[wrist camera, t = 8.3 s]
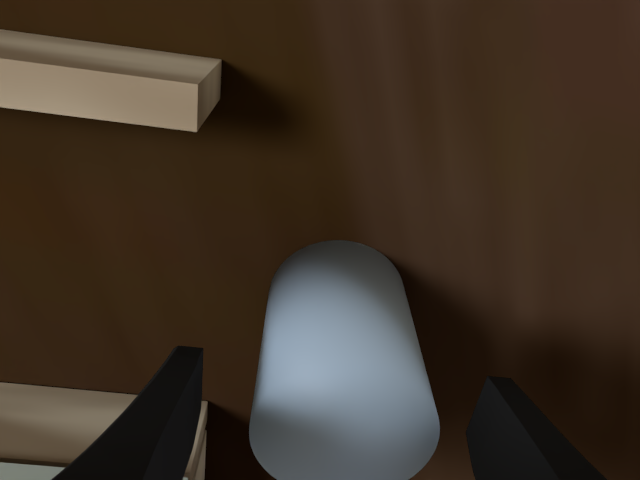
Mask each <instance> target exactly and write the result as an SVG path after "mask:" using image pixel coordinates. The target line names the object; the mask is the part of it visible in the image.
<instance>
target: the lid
mask: <svg viewBox="0 0 640 480" xmlns="http://www.w3.org/2000/svg"><path fill="white" fill-rule="evenodd" d="M63 469H64V467H52V466H40V465H27V464H15V463H3V462H0V480H51V479H52V478H54V477H55V476H56V475H57V474H58V473H60V472H61V471H62V470H63ZM183 480H188V478H186V477H183Z"/></svg>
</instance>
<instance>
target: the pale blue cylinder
mask: <svg viewBox="0 0 640 480" xmlns="http://www.w3.org/2000/svg"><path fill="white" fill-rule="evenodd" d="M439 435H440V424H439V418H438V414H437V410H436V406H435V402H434V399H433V395H432V391H431V387H430V384H429V380H428V376H427V372H426V369H425V365H424V361H423V357H422V353H421V350H420V346H419V342H418V338H417V335H416V331H415V327H414V323H413V319H412V316H411V312H410V308H409V304H408V301H407V297H406V293H405V289H404V285H403V282H402V279H401V277H400V274H399V272H398V271H397V269H396V268H395V266H394V265H393V264H392V263H391V262H390V260H389V259H388V258H386V257H385V256H384V255H383V254H381V253H380V252H378V251H377V250H375V249H373V248H371V247H369V246H367V245H364V244H360V243H357V242H352V241H344V240H331V241H324V242H318V243H315V244H312V245H309V246H307V247H304V248H302V249H300V250H299V251H297V252H295V253H294V254H292V255H291V256H290V257H288V258H287V259H286V260H285V261H284V262H283V263H282V264H281V266H280V267H279V268H278V270H277V271H276V273H275V275H274V277H273V279H272V282H271V285H270V289H269V295H268V302H267V309H266V316H265V323H264V330H263V336H262V343H261V350H260V357H259V364H258V371H257V378H256V384H255V391H254V398H253V405H252V412H251V419H250V425H249V439H250V445H251V448H252V451H253V453H254V455H255V457H256V459H257V460H258V462H259V463H260V464H261V466H262V467H263V468H264V469H265V470H266V471H267V472H268V473H269V474H270V475H271V476H273V477H274V478H275V479H277V480H408V479H410V478H411V477H413V476H414V475H415V474H417V473H418V472H419V471H420V470H421V469H422V468H423V467H424V466H425V465H426V464H427V462H428V461H429V460H430V458H431V457H432V455H433V454H434V451H435V449H436V447H437V444H438V440H439Z"/></svg>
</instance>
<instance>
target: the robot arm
mask: <svg viewBox="0 0 640 480" xmlns="http://www.w3.org/2000/svg"><path fill="white" fill-rule="evenodd" d="M202 371H203V348H196V347H186V346H177V347H176V348H174V349H173V351H172V352H171V354H170V355H169V356H168V358H167V359H166V361H165V362H164V363H163V365H162V366H161V367H160V369H159V370H158V371H157V373H156V374H155V375H154V376H153V378H152V379H151V380H150V381H149V383H148V384H147V385H146V386H145V387H144V389H143V390H142V391H141V392H140V393H139V394H138V395H137V397H136V398H135V399H134V400H133V401H132V402H131V404H130V405H129V406H128V407H127V408H126V409H125V410H124V411H123V412H122V414H121V415H120V416H119V417H118V418H117V419H116V420H115V421H114V422H113V423H112V424H111V425H110V426H109V427H108V428H107V429H106V430H105V431H104V432H103V433H102V434H101V435H100V436H99V437H98V438H97V439H96V440H95V441H94V442H93V443H92V444H91V445H90V446H89V447H88V448H87V449H86V450H85V451H84V452H82V453H81V454H80V455H79V456H78V457H77V458H76V459H75V460H74V461H72V462H71V463H70V464H69V465H68V466H67V467H66V468H64V469H63V470H62V471H61V472H60V473H58V474H57V475H56V476H55V477H54V478H52V479H51V480H183V477H184V474H185V471H186V468H187V465H188V462H189V459H190V456H191V452H192V449H193V445H194V441H195V436H196V431H197V427H198V422H199V417H200V412H201V402H202ZM466 435H467V441H468V447H469V453H470V458H471V463H472V468H473V473H474V476H475V479H476V480H607V479H606V478H605V477H604V476H603V475H602V474H601V473H600V472H599V471H598V470H597V469H595V468H594V467H593V466H592V465H591V464H590V463H589V462H588V461H587V460H586V459H585V458H584V457H583V456H582V455H581V454H580V453H579V452H578V451H577V450H576V448H575V447H574V446H573V445H572V444H571V443H570V442H569V441H568V440H567V439H566V438H565V437H564V436H563V435H562V434H561V433H560V432H559V431H558V429H557V428H556V427H555V426H554V425H553V424H552V423H551V422H550V421H549V420H548V419H547V417H546V416H545V415H544V414H543V413H542V412H541V411H540V410H539V409H538V408H537V406H536V405H535V404H534V403H533V402H532V401H531V400H530V399H529V398H528V396H527V395H526V394H525V393H524V392H523V391H522V390H521V389H520V388H519V387H518V386H517V384H516V383H515V382H514V381H513V380H512V379H511V378H502V377H492V376H487V378H486V381H485V383H484V386H483V389H482V391H481V394H480V397H479V399H478V402H477V404H476V407H475V410H474V412H473V415H472V417H471V420H470V423H469V425H468V428H467V431H466Z"/></svg>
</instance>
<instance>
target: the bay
mask: <svg viewBox="0 0 640 480" xmlns="http://www.w3.org/2000/svg"><path fill="white" fill-rule="evenodd" d="M221 65H222V60H221V59H213V58H206V57H199V56H191V55H184V54H177V53H169V52H162V51H155V50H147V49H140V48H133V47H125V46H118V45H111V44H103V43H96V42H89V41H81V40H74V39H67V38H59V37H52V36H45V35H37V34H30V33H23V32H15V31H8V30H1V29H0V107H3V108H11V109H19V110H27V111H35V112H43V113H51V114H59V115H66V116H74V117H82V118H90V119H98V120H106V121H114V122H122V123H130V124H138V125H145V126H153V127H161V128H169V129H177V130H185V131H193V132H197V131H198V130H199V128H200V127H201V126H202V124H203V123H204V121H205V120H206V118H207V117H208V116H209V114H210V113H211V111H212V110H213V108H214V107H215V105H216V104H217V103H218V101H219V100H220V90H221ZM136 397H137V395H133V394H122V393H111V392H100V391H89V390H79V389H68V388H57V387H46V386H35V385H24V384H14V383H3V382H0V462H3V463H15V464H27V465H40V466H52V467H64V468H66V467H67V466H68V465H69V464H70V463H71V462H72V461H74V460H75V459H76V458H77V457H78V456H79V455H80V454H81V453H82V452H84V451H85V450H86V449H87V448H88V447H89V446H90V445H91V444H92V443H93V442H94V441H95V440H96V439H97V438H98V437H99V436H100V435H101V434H102V433H103V432H104V431H105V430H106V429H107V428H108V427H109V426H110V425H111V424H112V423H113V422H114V421H115V420H116V419H117V418H118V417H119V416H120V415H121V414H122V412H123V411H124V410H125V409H126V408H127V407H128V406H129V405H130V404H131V402H132V401H133V400H134V399H135V398H136ZM207 407H208V401H202V402H201V412H200V417H199V422H198V427H197V431H196V436H195V441H194V445H193V449H192V452H191V456H190V459H189V462H188V465H187V468H186V471H185V474H184V477H186V478H188V480H205V455H206V431H207V430H205V427H206V423H207Z"/></svg>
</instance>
